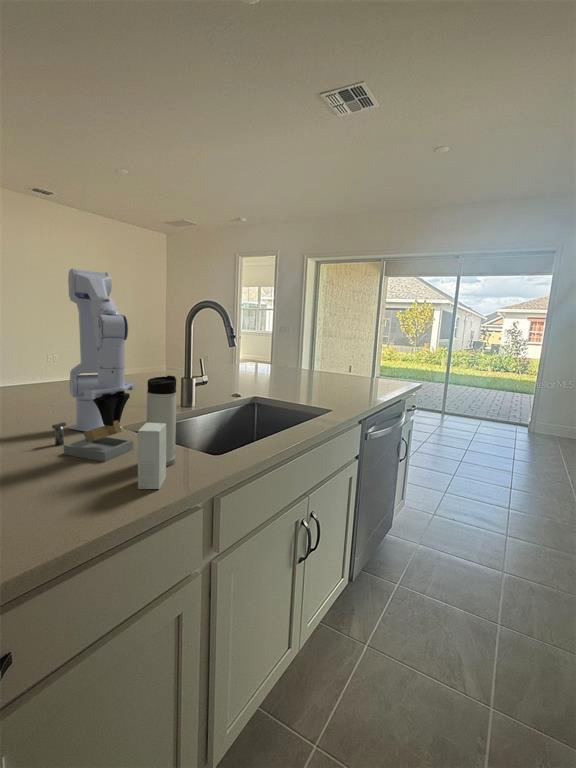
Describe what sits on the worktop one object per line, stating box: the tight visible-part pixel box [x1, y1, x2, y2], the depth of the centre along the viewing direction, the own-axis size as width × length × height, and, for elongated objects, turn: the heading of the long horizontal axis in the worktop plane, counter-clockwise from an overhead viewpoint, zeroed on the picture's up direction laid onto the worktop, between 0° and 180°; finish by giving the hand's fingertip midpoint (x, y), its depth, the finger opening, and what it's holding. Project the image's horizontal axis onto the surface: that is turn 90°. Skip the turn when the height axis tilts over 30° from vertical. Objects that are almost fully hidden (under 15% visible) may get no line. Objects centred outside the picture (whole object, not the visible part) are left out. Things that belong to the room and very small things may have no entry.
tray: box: [63, 436, 134, 463], centre depth 95 cm, size 10×11×2 cm
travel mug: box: [146, 375, 177, 467], centre depth 90 cm, size 6×7×20 cm
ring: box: [82, 420, 123, 442], centre depth 94 cm, size 6×9×3 cm
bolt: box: [51, 421, 67, 446], centre depth 98 cm, size 3×2×5 cm, turn 165°
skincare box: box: [137, 422, 167, 490], centre depth 79 cm, size 6×4×12 cm
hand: (111, 424), depth 94 cm, fingers closed on ring, 2 cm apart
